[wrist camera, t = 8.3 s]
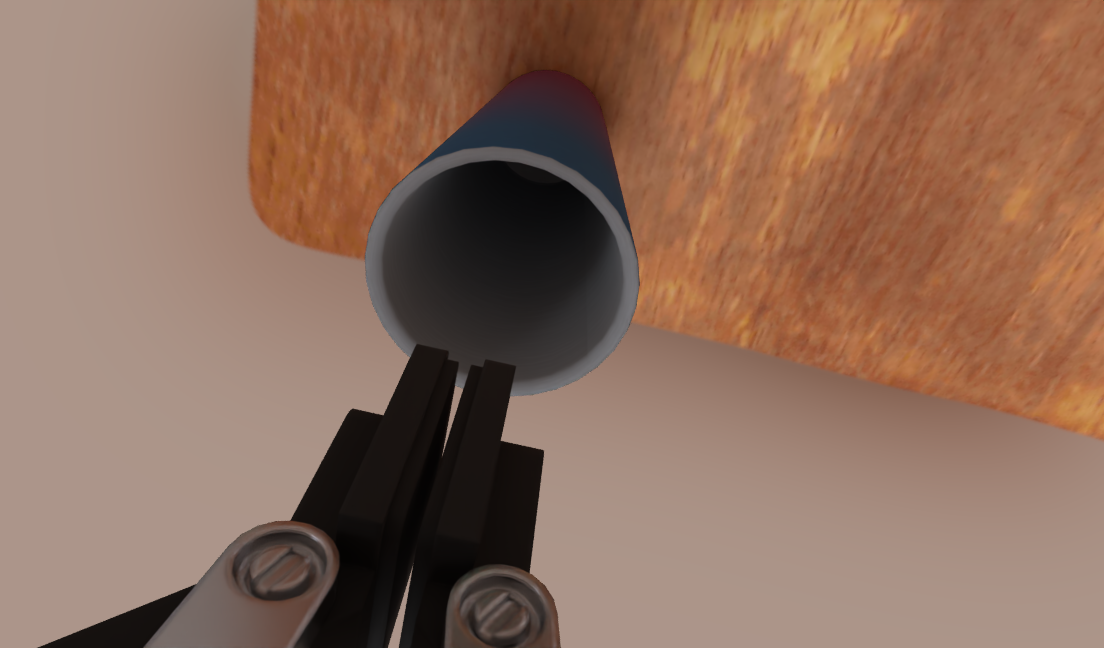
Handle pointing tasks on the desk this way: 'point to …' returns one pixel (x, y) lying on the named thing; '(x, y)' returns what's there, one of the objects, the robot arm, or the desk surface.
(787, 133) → the desk surface
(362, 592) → the robot arm
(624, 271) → the cup
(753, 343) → the desk surface
